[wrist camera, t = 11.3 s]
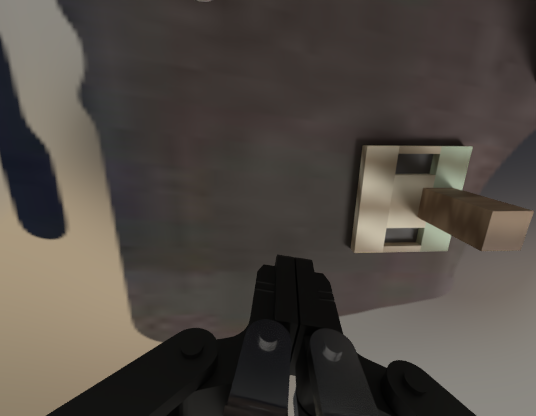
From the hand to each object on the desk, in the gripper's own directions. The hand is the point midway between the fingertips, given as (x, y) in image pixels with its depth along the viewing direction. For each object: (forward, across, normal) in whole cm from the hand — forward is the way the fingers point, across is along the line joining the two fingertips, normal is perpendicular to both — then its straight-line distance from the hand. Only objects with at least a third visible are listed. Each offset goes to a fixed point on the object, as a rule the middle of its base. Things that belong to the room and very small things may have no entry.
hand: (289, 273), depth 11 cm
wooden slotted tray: (+28, -19, +4) cm, 34 cm away
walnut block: (+27, -23, +4) cm, 35 cm away
